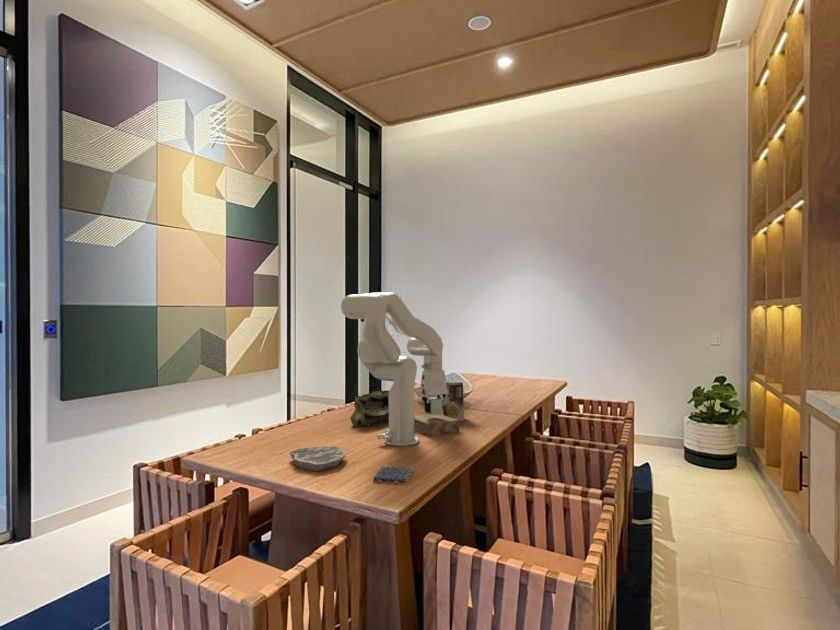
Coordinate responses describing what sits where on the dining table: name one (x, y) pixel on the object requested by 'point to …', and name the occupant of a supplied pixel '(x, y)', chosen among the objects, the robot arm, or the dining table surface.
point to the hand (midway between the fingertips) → (433, 411)
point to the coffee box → (454, 401)
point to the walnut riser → (435, 424)
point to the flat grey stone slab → (318, 457)
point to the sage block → (435, 406)
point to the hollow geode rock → (370, 408)
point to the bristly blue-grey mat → (393, 475)
